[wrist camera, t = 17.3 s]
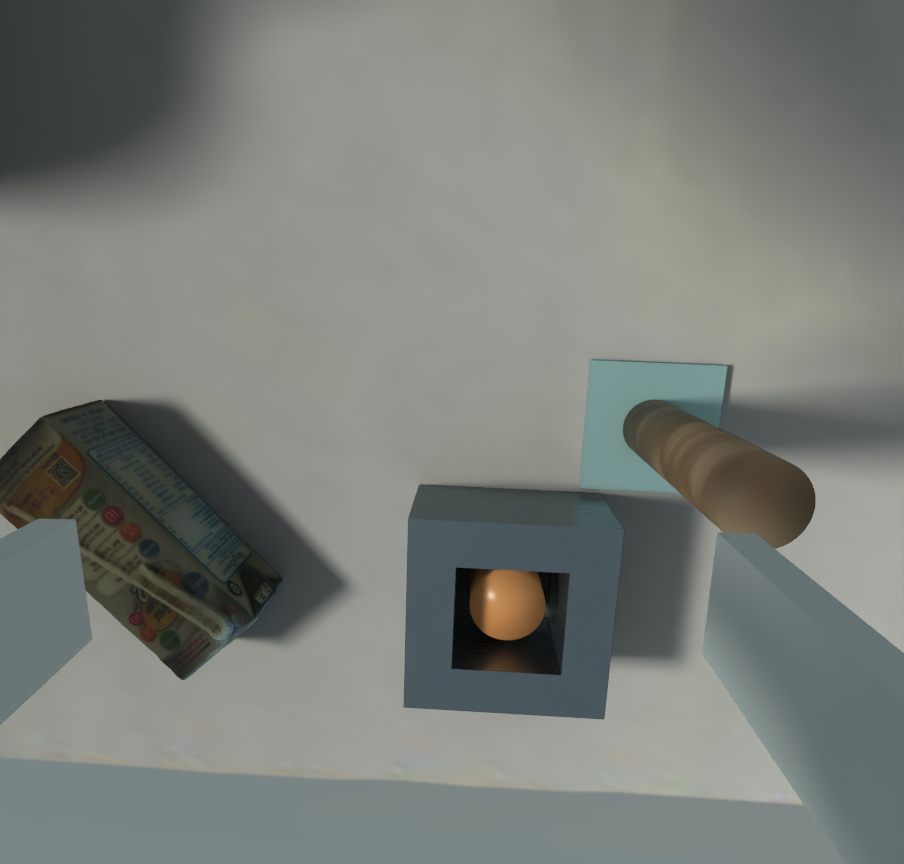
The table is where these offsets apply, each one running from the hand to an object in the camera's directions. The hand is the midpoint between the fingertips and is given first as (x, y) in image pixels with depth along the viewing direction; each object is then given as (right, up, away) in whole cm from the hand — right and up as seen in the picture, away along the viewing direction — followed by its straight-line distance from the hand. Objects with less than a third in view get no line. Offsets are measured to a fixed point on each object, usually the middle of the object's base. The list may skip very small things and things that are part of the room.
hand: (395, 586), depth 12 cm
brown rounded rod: (+15, +3, +28) cm, 32 cm away
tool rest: (+15, +4, +29) cm, 33 cm away
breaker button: (+5, -7, +31) cm, 33 cm away
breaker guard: (+5, -7, +31) cm, 33 cm away
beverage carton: (-20, -4, +32) cm, 38 cm away
